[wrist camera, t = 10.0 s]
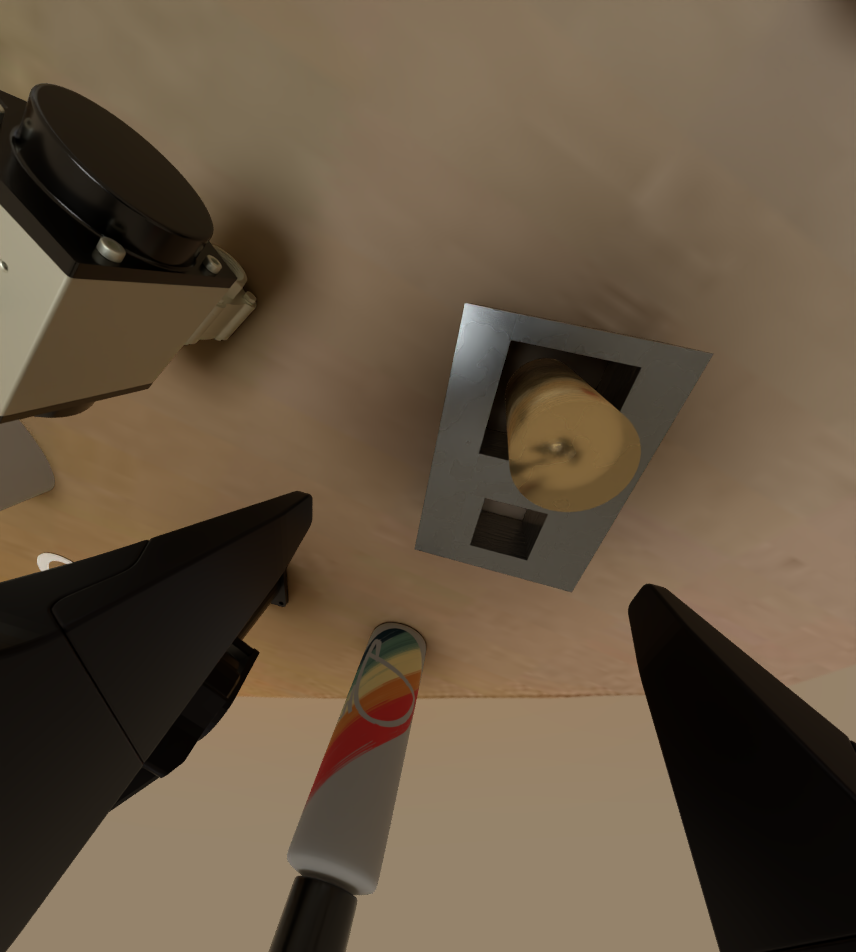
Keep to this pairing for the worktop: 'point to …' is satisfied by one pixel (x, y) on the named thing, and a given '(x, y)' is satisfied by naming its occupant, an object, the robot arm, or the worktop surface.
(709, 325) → the worktop surface
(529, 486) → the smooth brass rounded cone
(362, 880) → the lotion bottle
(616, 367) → the socket block
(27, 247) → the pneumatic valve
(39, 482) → the lumpy-topped squat cylinder
